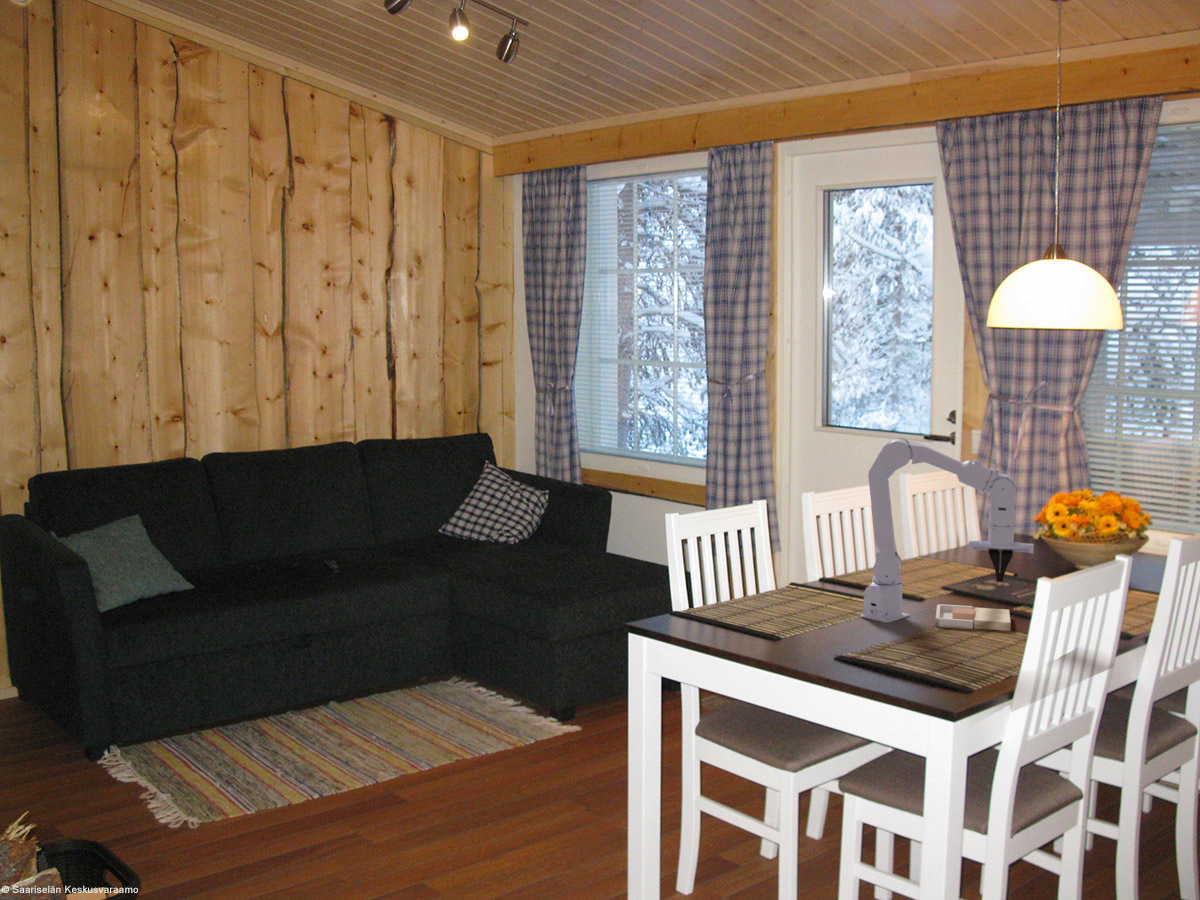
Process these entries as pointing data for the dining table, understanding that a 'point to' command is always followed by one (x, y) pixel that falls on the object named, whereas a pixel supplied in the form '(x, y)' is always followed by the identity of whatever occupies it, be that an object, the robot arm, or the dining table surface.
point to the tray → (946, 614)
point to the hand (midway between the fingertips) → (999, 580)
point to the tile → (963, 614)
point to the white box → (992, 619)
